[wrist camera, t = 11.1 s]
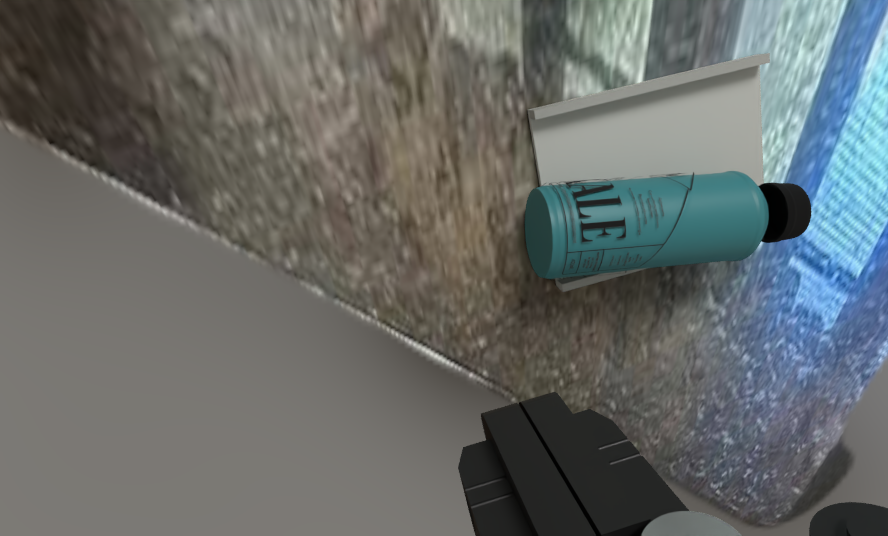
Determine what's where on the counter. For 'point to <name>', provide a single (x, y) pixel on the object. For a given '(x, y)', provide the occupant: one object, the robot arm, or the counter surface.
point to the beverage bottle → (657, 222)
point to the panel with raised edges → (654, 132)
